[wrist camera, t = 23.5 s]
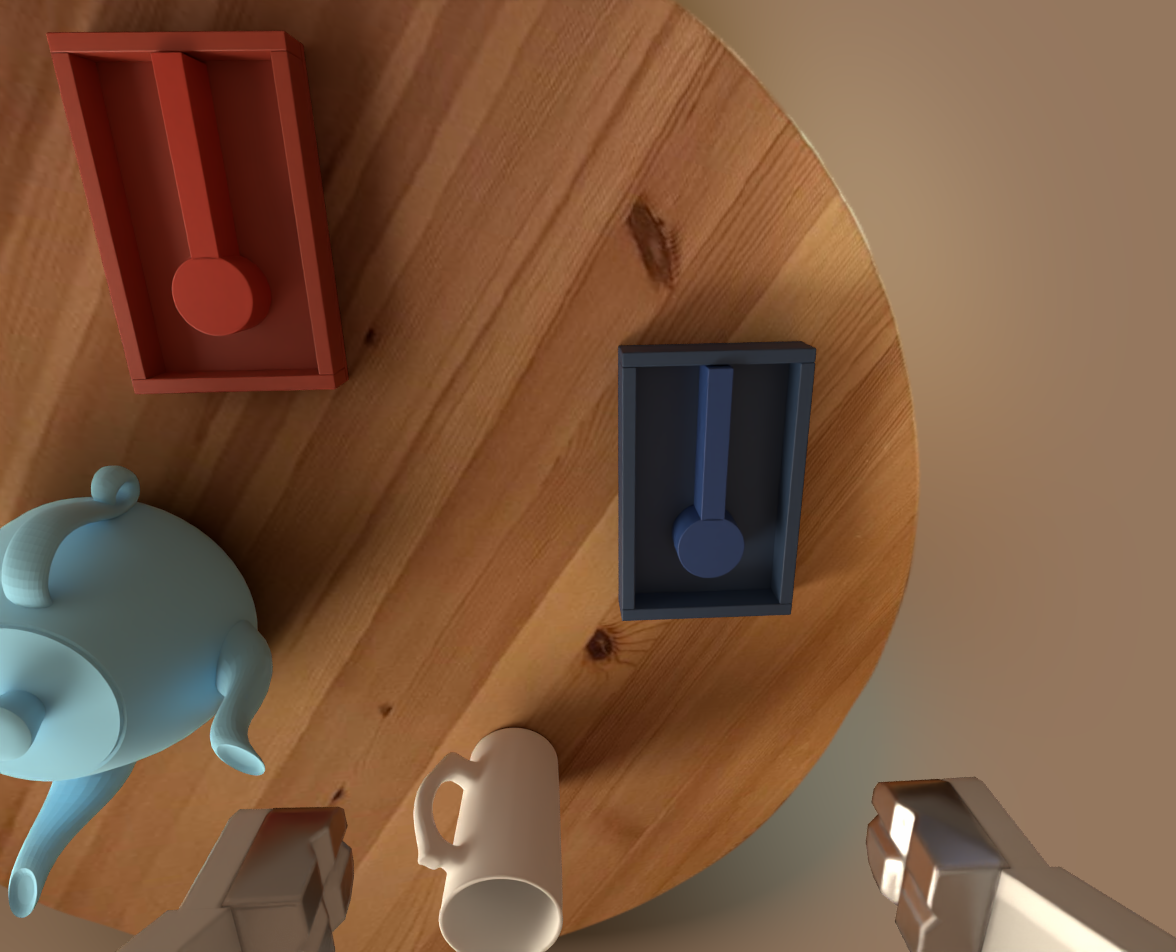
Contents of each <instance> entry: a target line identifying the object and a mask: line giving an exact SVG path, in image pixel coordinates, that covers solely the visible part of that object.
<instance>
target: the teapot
mask: <svg viewBox="0 0 1176 952" xmlns="http://www.w3.org/2000/svg"><path fill="white" fill-rule="evenodd" d="M139 494H140V484H139V481H138V479H137V477H136V475H135V474H134V473H133V472H132V471H130V470H129V469H127V468H124V467H122V466H105V467H102V468H100V469H99V470H98V471H97V472H96V473H95V475H94V477H93V480H92V484H91V495H92V497H79V498H72V499H64V500H59V501H55V502H51V503H47V504H44V505H41V506H39V507H37V508H34V509H32V510H30V511H28V512H26V513H24V514H23V515H21V516H19V517H18V518H16V519H14V520H13V521H11V522H9V523H8V524H6V525H5V526H3V527H2V528H1V529H0V773H1V774H4V775H8V776H12V777H16V778H21V779H27V780H35V781H53V782H52V785H51V788H50V791H49V793H48V796H47V798H46V800H45V802H44V805H43V807H42V809H41V811H40V813H39V814H38V816H37V818H36V820H35V822H34V824H33V826H32V828H31V830H30V832H29V834H28V836H27V838H26V840H25V842H24V844H23V846H22V848H21V850H20V853H19V855H18V857H17V860H16V862H15V865H14V867H13V870H12V873H11V877H10V882H9V905H10V908H11V911H12V912H13V914H14V915H15V916H17V917H20V918H23V917H26V916H28V915H29V914H30V913H31V912H32V911H33V909H34V908H35V906H36V904H37V902H38V900H39V897H40V895H41V892H42V889H43V887H44V884H45V881H46V879H47V876H48V874H49V872H50V870H51V868H52V867H53V865H54V863H55V861H56V859H57V858H58V856H59V855H60V854H61V852H62V851H63V850H64V848H65V847H66V846H67V844H68V843H69V842H70V841H71V840H72V838H73V837H74V836H75V835H76V834H77V833H78V832H79V831H80V830H81V829H82V828H83V827H84V826H85V825H86V824H87V823H88V822H89V821H90V820H91V819H92V818H93V817H94V816H95V815H96V814H97V813H98V812H99V811H100V810H101V809H102V808H103V807H104V806H105V805H106V804H107V803H108V802H109V801H110V800H111V799H112V798H113V796H114V795H115V794H116V793H117V792H118V791H119V789H120V788H121V787H122V786H123V784H124V783H125V781H126V780H127V778H128V777H129V775H130V774H131V772H132V770H133V768H134V765H135V763H136V761H138V760H140V759H143V758H146V757H148V756H151V755H153V754H155V753H158V752H160V751H162V750H164V749H166V748H168V747H170V746H171V745H173V744H175V743H177V742H179V741H180V740H182V739H184V738H186V737H187V736H189V735H190V734H191V733H193V732H194V731H195V730H197V729H198V728H199V727H201V726H202V725H203V724H205V723H206V722H207V721H209V720H210V719H211V718H212V717H213V716H214V715H215V714H216V715H215V717H214V720H213V723H212V726H211V731H210V740H211V745H212V748H213V750H214V752H215V753H216V755H217V756H218V757H219V758H220V759H221V760H222V761H224V762H225V763H226V764H228V765H229V766H231V767H233V768H234V769H236V770H238V771H241V772H244V773H247V774H250V775H261V774H263V773H264V771H265V765H264V763H263V761H262V760H261V758H260V757H259V755H258V754H257V753H256V752H255V750H254V749H253V747H252V746H251V744H250V743H249V740H248V735H247V733H248V727H249V725H250V722H251V720H252V719H253V717H254V715H255V714H256V712H257V711H258V709H259V708H260V706H261V704H262V702H263V700H264V698H265V696H266V694H267V692H268V689H269V685H270V681H271V677H272V668H273V666H272V655H271V651H270V648H269V646H268V644H267V642H266V640H265V639H264V637H263V636H262V635H261V634H260V633H259V632H258V628H257V615H256V610H255V605H254V602H253V599H252V596H251V593H250V590H249V588H248V586H247V584H246V582H245V580H244V578H243V576H242V575H241V573H240V572H239V570H238V568H237V567H236V565H235V564H234V563H233V561H232V560H231V559H230V558H229V557H228V555H227V554H226V553H225V552H224V551H223V550H222V549H221V548H220V547H219V546H218V545H217V544H216V543H215V542H214V541H213V540H212V539H211V538H210V537H208V536H207V535H206V534H204V533H203V532H202V531H200V530H199V529H198V528H196V527H194V526H193V525H191V524H189V523H188V522H186V521H184V520H183V519H181V518H179V517H177V516H175V515H173V514H171V513H168V512H166V511H164V510H162V509H159V508H156V507H153V506H150V505H147V504H144V503H140V502H137V500H138V498H139Z"/></svg>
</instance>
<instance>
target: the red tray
mask: <svg viewBox="0 0 1176 952" xmlns="http://www.w3.org/2000/svg"><path fill="white" fill-rule="evenodd" d="M46 35H47V39H48V43H49V47H50V51H51V52H52V53H51V56H52V60H53V64H54V68H55V72H56V76H57V81H58V85H59V89H60V93H61V97H62V101H63V105H64V109H65V113H66V117H67V121H68V125H69V129H70V133H71V137H72V141H73V145H74V150H75V154H76V158H77V162H78V166H79V170H80V174H81V178H82V182H83V186H84V190H85V194H86V198H87V202H88V206H89V210H90V214H91V219H92V223H93V227H94V231H95V235H96V239H97V243H98V247H99V251H100V255H101V259H102V263H103V267H104V271H105V275H106V279H107V283H108V288H109V292H110V296H111V300H112V304H113V308H114V312H115V316H116V320H117V324H118V328H119V332H120V336H121V340H122V344H123V348H124V352H125V357H126V361H127V365H128V369H129V373H130V377H131V379H133V380H132V384H133V388H134V392H135V394H164V393H203V392H243V391H282V390H322V389H336V388H338V387H339V386H341V385H342V384H343V383H345V382H346V381H348V380H349V376H348V369H347V361H346V354H345V347H344V339H343V332H342V325H341V317H340V310H339V303H338V296H337V288H336V281H335V274H334V266H333V259H332V252H331V244H330V237H329V230H328V222H327V215H326V208H325V201H324V193H323V186H322V179H321V171H320V164H319V157H318V149H317V142H316V135H315V128H314V120H313V113H312V106H311V98H310V91H309V84H308V76H307V69H306V62H305V54H304V47H303V44H302V43H300V42H299V41H297V40H296V39H295V38H293V37H292V36H290V35H289V34H288V33H286V32H285V31H173V32H48V33H46ZM151 52H181V53H183V54H185V55H188V56H190V57H192V58H194V59H196V60H198V61H200V62H202V63H204V64H206V65H207V71H208V77H209V82H210V88H211V94H212V99H213V105H214V111H215V116H216V122H217V128H218V133H219V139H220V145H221V151H222V156H223V162H224V168H225V173H226V179H227V185H228V190H229V196H230V202H231V207H232V213H233V219H234V224H235V230H236V236H237V241H238V247H239V253H240V256H242V257H245V258H247V259H248V260H250V261H251V262H253V263H254V264H255V265H256V266H257V267H258V268H259V269H260V270H261V271H262V272H263V274H264V275H265V277H266V279H267V281H268V283H269V286H270V290H271V306H270V309H269V312H268V314H267V316H266V317H265V319H264V320H263V321H262V322H261V323H259V324H258V325H257V326H255V327H253V328H250V329H247V330H244V331H241V332H238V333H235V334H231V335H227V336H213V335H209V334H205V333H203V332H201V331H199V330H197V329H195V328H194V327H192V326H191V325H190V324H189V323H188V322H187V321H186V320H185V319H184V318H183V317H182V316H181V314H180V313H179V311H178V309H177V308H176V305H175V303H174V300H173V295H172V281H173V278H174V275H175V273H176V271H177V269H178V268H179V266H180V265H181V264H182V263H183V262H185V261H186V260H188V259H189V258H191V254H190V249H189V244H188V239H187V234H186V229H185V224H184V219H183V214H182V209H181V204H180V199H179V194H178V189H177V184H176V179H175V174H174V169H173V164H172V159H171V154H170V149H169V144H168V139H167V134H166V129H165V124H164V119H163V114H162V109H161V104H160V99H159V94H158V89H157V84H156V79H155V74H154V69H153V64H152V59H151Z"/></svg>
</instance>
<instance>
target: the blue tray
mask: <svg viewBox="0 0 1176 952" xmlns="http://www.w3.org/2000/svg"><path fill="white" fill-rule="evenodd" d="M815 359H816V348H814V347H812V346H810V345H808V344H805V343H804V342H802V341H789V342H747V343H704V344H662V345H619V346H618V478H619V605H620V611H621V617H622V621H631V620H658V619H685V618H712V617H739V616H766V615H790V614H791V609H792V599H793V588H794V578H795V568H796V557H797V547H798V537H799V526H800V516H801V506H802V495H803V485H804V474H805V464H806V454H807V443H808V433H809V423H810V412H811V402H812V392H813V381H814V371H815V363H814V362H815ZM700 365H730V366H731V367H732V368H734V374H733V391H732V407H731V423H730V440H729V456H728V472H727V489H726V505H725V509H726V510H727V511H728V512H729V513H730V514H731V516H732V517H733V519H734V520H735V522H736V524H737V525H738V527H739V529H740V530H741V532H742V534H743V537H744V542H745V548H744V553H743V556H742V558H741V560H740V561H739V563H738V564H737V565H736V566H735V567H734V568H733V569H732V570H731V571H730V572H728V573H726V574H724V575H722V576H719V577H714V578H703V577H699V576H696V575H694V574H692V573H690V572H689V571H687V570H686V569H685V568H684V567H683V565H682V564H681V562H680V560H679V557H678V554H677V552H676V549H675V546H674V543H673V541H672V527H673V524H674V521H675V520H676V518H677V517H678V515H679V514H680V513H681V512H682V511H683V510H684V509H686V508H687V507H689V506H691V505H693V504H694V483H695V460H696V438H697V415H698V392H699V369H700Z"/></svg>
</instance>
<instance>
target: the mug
mask: <svg viewBox="0 0 1176 952" xmlns="http://www.w3.org/2000/svg"><path fill="white" fill-rule="evenodd" d="M445 781H453V782H455V783H457V784H458V785H460V786H461V787H462V788H463V790H464V792H463V797H462V802H461V807H460V812H459V817H458V823H457V828H456V833H455V838H454V843H453V845H452V844H450V843H449V842H447V841H446V840H445V839H443V837H442V836H441V835H440V833H439V832H438V830H437V828H436V825H435V822H434V818H433V809H432V806H433V800H434V797H435V794H436V792H437V790H438V788H439V786H440V785H441V783H443V782H445ZM414 826H415V833H416V839H417V845H418V851H419V856H418V863H419V864H421V865H424V866H426V867H428V868H430V869H433V870H434V869H437V868H439V867H441V868H443V869H444V870H445V871H446V872H447V878H446V883H445V888H444V894H443V900H442V907H441V910H440V914H439V925H440V930H441V932H442V935H443V937H444V938H445V940H446V941H447V942H448V944H449V945H450V946H451V947H452V948H453V949H455V950H456V951H457V952H545V951H546V950H547V949H549V948H550V947H551V946H552V944H554V942H555V941H556V940H557V938H558V936H559V934H560V932H561V929H562V924H563V915H562V863H561V832H560V795H559V774H558V759H557V755H556V752H555V750H554V748H553V746H552V745H551V744H550V742H549V741H548V740H547V739H546V738H544V737H543V736H541V735H540V734H538V733H536V732H534V731H531V730H528V729H523V728H505V729H501V730H497V731H495V732H492V733H490V734H489V735H487V736H485V737H484V738H483V739H482V740H481V741H480V742H479V743H478V744H477V745H476V747H475V748H474V750H473V752H472V755H471V759H470V760H467V759H465V758H464V757H462V756H461V755H459V754H457V753H455V752H450V753H449V754H447V755H446V756H445V757H444V758H443V759H442V760H441V761H440V762H439V763H438V764H437V765H436V767H435V768H434V769H433V770H432V771H431V772H430V773H429V774H428V775H427V776H426V778H425V779H424V780H423V782H422V783H421V785H420V787H419V789H418V792H417V795H416V798H415V803H414Z"/></svg>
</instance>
